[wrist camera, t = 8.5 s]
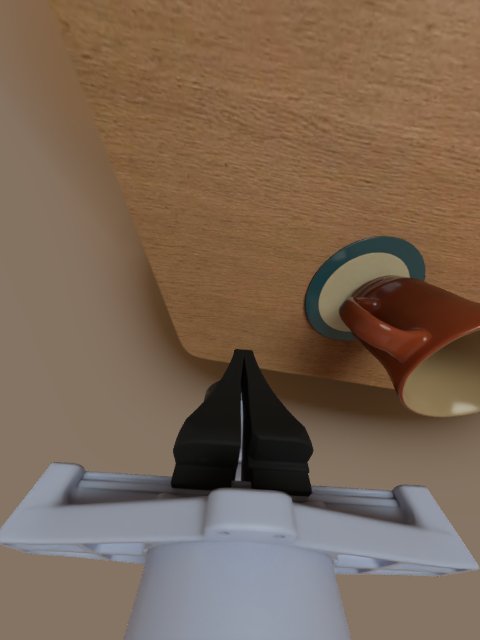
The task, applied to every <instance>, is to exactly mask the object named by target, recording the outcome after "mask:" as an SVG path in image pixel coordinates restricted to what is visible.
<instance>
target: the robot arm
mask: <svg viewBox="0 0 480 640" xmlns="http://www.w3.org/2000/svg"><path fill="white" fill-rule="evenodd" d="M241 389H242V393H241ZM173 454H174V458H175V462H176V466H175V469H174V473H173V476H172V477H168V476H153V475H138V474H121V473H105V472H90V471H85V469H84V468H83V466H81V465H79V464H74V463H60V462H54V463H52V464H51V465H50V466H49V467H48V468H47V470H46V471H45V472H44V474H43V475H42V476H41V477H40V479H39V480H38V482H37V483H36V484H35V485H34V486H33V488H32V489H31V490H30V491H29V493H28V494H27V495H26V497H25V498H24V499H23V501H22V502H21V503H20V504H19V505H18V507H17V508H16V509H15V511H14V512H13V513H12V515H11V516H10V517H9V518H8V520H7V521H6V522H5V523H4V525H3V526H2V527H1V529H0V545H2V546H6V547H8V548H12V549H15V550H18V551H21V552H24V553H27V554H42V555H56V556H69V557H79V558H90V559H99V560H109V561H119V562H129V563H139V564H145V566H144V570H143V573H142V577H141V580H140V584H139V588H138V591H137V594H136V598H135V601H134V605H133V608H132V612H131V615H130V619H129V622H128V626H127V629H126V633H125V636H124V640H351V636H350V632H349V628H348V624H347V620H346V616H345V612H344V608H343V604H342V600H341V596H340V592H339V588H338V585H337V580H336V576H335V574H381V575H382V574H383V575H385V574H386V575H420V576H443V575H450V574H456V573H462V572H467V571H473V570H479V566H478V564H477V563H476V561H475V560H474V558H473V557H472V555H471V554H470V552H469V551H468V549H467V548H466V546H465V545H464V543H463V542H462V540H461V539H460V537H459V536H458V534H457V533H456V531H455V530H454V528H453V527H452V525H451V524H450V522H449V521H448V519H447V518H446V516H445V515H444V513H443V512H442V510H441V509H440V507H439V506H438V504H437V503H436V501H435V500H434V498H433V497H432V495H431V494H430V492H429V491H428V489H427V488H426V487H425V486H419V485H399V486H397V487H395V488H394V489H393V491H389V490H373V489H358V488H341V487H326V486H311V484H310V480H309V476H308V473H309V467H308V463H307V462H308V460H309V459H310V457H311V455H312V454H313V447H312V443H311V440H310V438H309V435H308V433H307V431H306V429H305V427H304V426H303V425H302V424H301V423H300V422H299V421H298V420H297V419H296V418H295V417H294V416H292V414H291V413H290V412H289V411H288V410H287V409H286V408H285V406H284V405H283V404H282V403H281V402H280V400H279V399H278V398H277V397H276V395H275V394H274V393H273V391H272V390H271V388H270V386H269V385H268V384H267V382H266V380H265V378H264V376H263V375H262V373H261V371H260V369H259V366H258V364H257V362H256V359H255V357H254V354H253V351H252V350H240V349H235V350H234V354H233V357H232V360H231V362H230V364H229V366H228V368H227V370H226V372H225V374H224V376H223V377H222V379H221V380H220V382H219V383H218V385H217V386H216V387H215V389H214V390H213V391H212V393H211V394H210V395H209V396H208V398H207V399H206V400H205V401H204V402H203V403H202V404H201V405H200V406H199V407H198V409H196V410H195V411H194V412H193V413H192V414H191V415H190V416H189V417H188V418H187V419H186V420H185V422H184V424H183V426H182V428H181V430H180V432H179V434H178V436H177V439H176V442H175V445H174V448H173Z"/></svg>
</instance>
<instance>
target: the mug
mask: <svg viewBox="0 0 480 640" xmlns="http://www.w3.org/2000/svg"><path fill="white" fill-rule="evenodd" d="M339 315H340V318H341V319H342V321H343V322H344V323H345V325H346V326H347V327H348V328H349V329H350V330H351V332H352V334H353V335H354V337H355V338H356V339H358V340H359V341H360V342H361V343H362V345H363V346H364V347H365V348H366V349H367V350H368V351H369V352H370V353H371V354H372V355H373V356H374V357H375V358H376V359H377V360H378V361H379V362H380V363H381V364H382V365H383V366H384V368H385V369H386V371H387V373H388V374H389V376H390V379H391V381H392V383H393V385H394V388H395V390H396V392H397V395H398V397H399V399H400V401H401V402H402V404H403V405H404V406H405V407H406V408H407V409H409V410H410V411H412V412H414V413H417V414H420V415H424V416H430V417H454V416H462V415H469V414H474V413H478V412H480V303H476V302H473V301H470V300H467V299H465V298H462V297H460V296H458V295H455V294H453V293H451V292H449V291H446V290H444V289H441V288H439V287H436V286H434V285H431V284H428V283H426V282H424V281H422V280H420V279H416V278H408V277H403V276H397V275H387V276H382V277H378V278H375V279H373V280H371V281H369V282H367V283H365V284H363V285H362V286H360V287H359V288H358V289H357V290H356V291H355V292H354V293H353V294H352V296H351V297H348V298H346V299H345V300H344V301H343V302H342V304H341V305H340V307H339Z"/></svg>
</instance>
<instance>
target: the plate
mask: <svg viewBox="0 0 480 640" xmlns="http://www.w3.org/2000/svg"><path fill="white" fill-rule="evenodd" d="M387 275H397V276H403V277H408V278H416V279H420V280H422V281H424V279H425V264H424V261H423V258H422V256H421V254H420V252H419V251H418V250H417V249H416V248H415V247H414V246H413V245H412V244H410V243H409V242H407V241H405V240H403V239H400V238H395V237H388V236H378V237H371V238H366V239H363V240H359V241H356V242H354V243H352V244H350V245H348V246H346V247H344V248H343V249H341V250H339V251H338V252H337V253H335V254H334V255H332V256H331V257H330V258H329V259H328V260H327V261H326V262H325V263H324V264H323V265H322V266H321V267H320V268H319V270H318V271H317V272H316V274H315V275H314V277H313V279H312V281H311V282H310V285H309V287H308V290H307V294H306V299H305V310H306V315H307V317H308V320H309V322H310V323H311V325H312V326H313V327H314V329H315V330H316V331H318V332H319V333H320V334H322V335H324V336H326V337H328V338H331V339H335V340H343V341H349V340H358V339H356V338H355V337H354V335H353V334H352V332H351V330H350V329H349V328H348V327H347V326H346V325H345V323H344V322H343V321H342V319H341V318H340V315H339V307H340V305H341V304H342V302H343V301H344V300H345V299H346V298H348V297H351V296H352V294H353V293H354V292H355V291H356V290H357V289H358V288H359V287H360V286H362V285H363V284H365V283H367V282H369V281H371V280H373V279H375V278H378V277H382V276H387Z"/></svg>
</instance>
